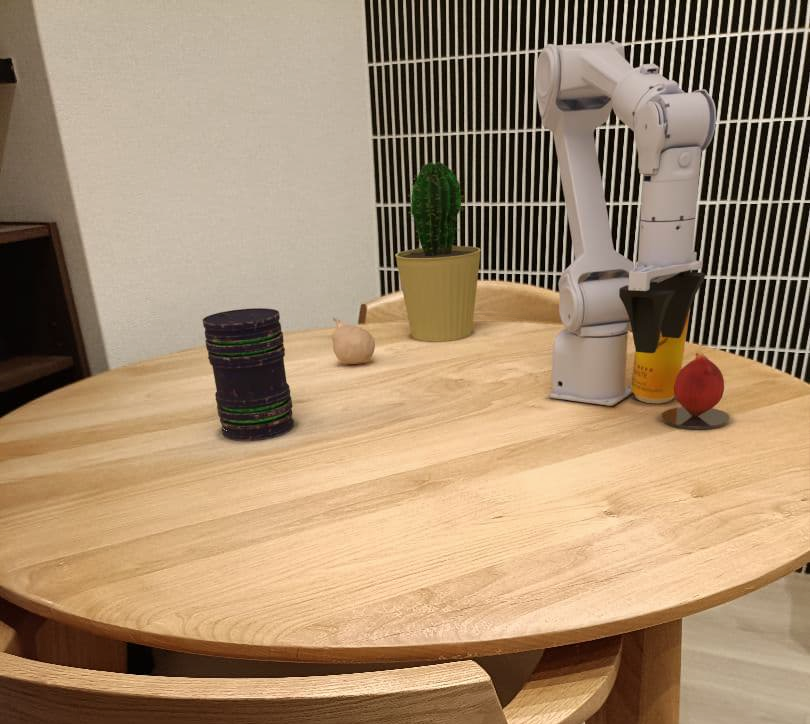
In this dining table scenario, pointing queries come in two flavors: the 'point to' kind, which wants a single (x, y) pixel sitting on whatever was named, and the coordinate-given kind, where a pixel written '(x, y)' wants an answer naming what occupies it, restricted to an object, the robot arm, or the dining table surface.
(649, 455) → the dining table surface
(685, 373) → the onion
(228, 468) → the dining table surface
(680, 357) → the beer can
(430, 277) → the potted cactus
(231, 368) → the dark purple cylinder
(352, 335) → the garlic bulb
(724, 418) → the coaster
